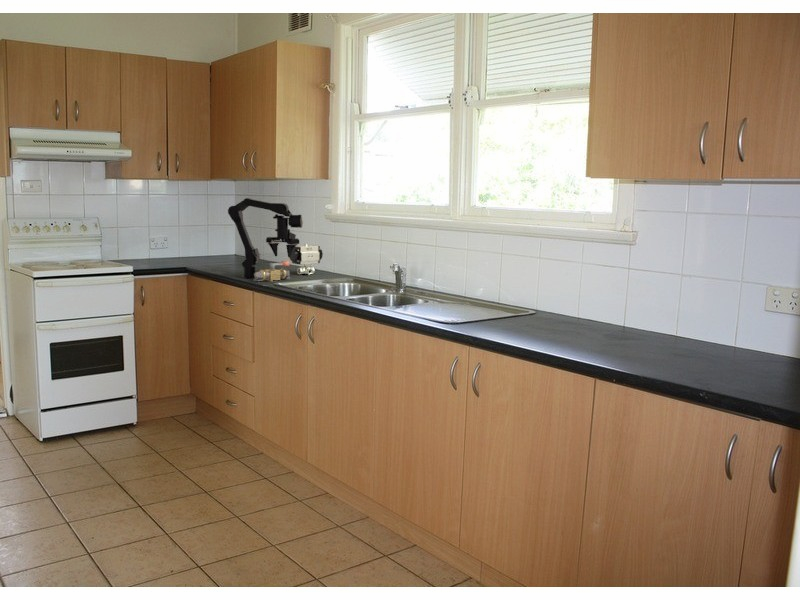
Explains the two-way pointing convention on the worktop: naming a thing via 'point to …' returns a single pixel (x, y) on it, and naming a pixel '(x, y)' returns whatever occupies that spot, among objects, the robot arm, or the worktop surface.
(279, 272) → the valve body
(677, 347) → the worktop surface
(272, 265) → the lever
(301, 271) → the ball valve
